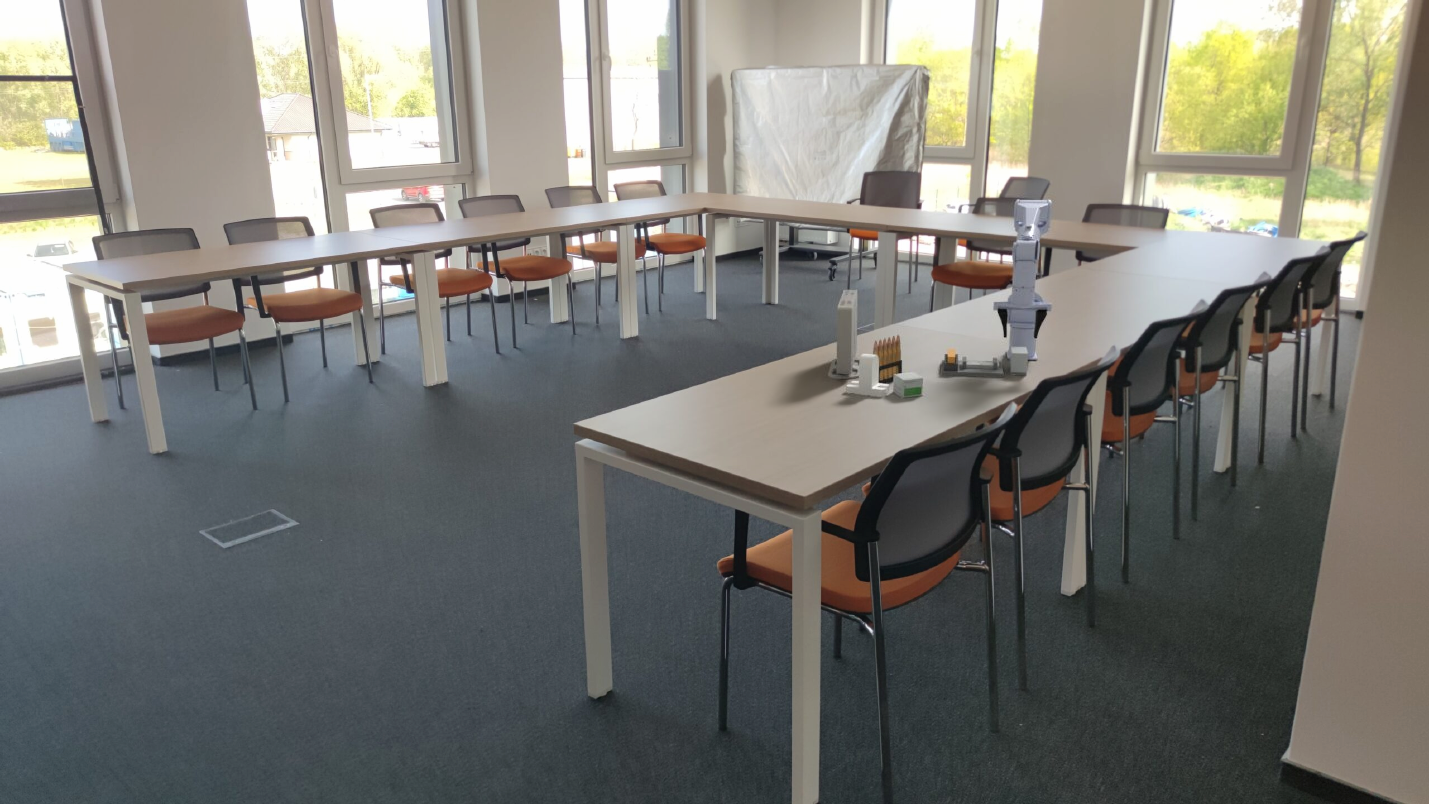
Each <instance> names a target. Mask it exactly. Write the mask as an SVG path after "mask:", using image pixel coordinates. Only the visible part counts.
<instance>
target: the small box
mask: <svg viewBox="0 0 1429 804" xmlns="http://www.w3.org/2000/svg"><path fill="white" fill-rule="evenodd" d="M892 382H893V383H892V384H893V385H892V388H893V390H892V392H893V393H894V394H896V395H898V397H900V398H902V399H903V398H911V397H912V398H913V397H921V396H923V391H924V390H923V389H924V387H923V385H924V377H922V376H921V375H920V374H917V373H916V372H914V371H911V372H902V373H900V374H894V379H893V381H892Z"/></svg>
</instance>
